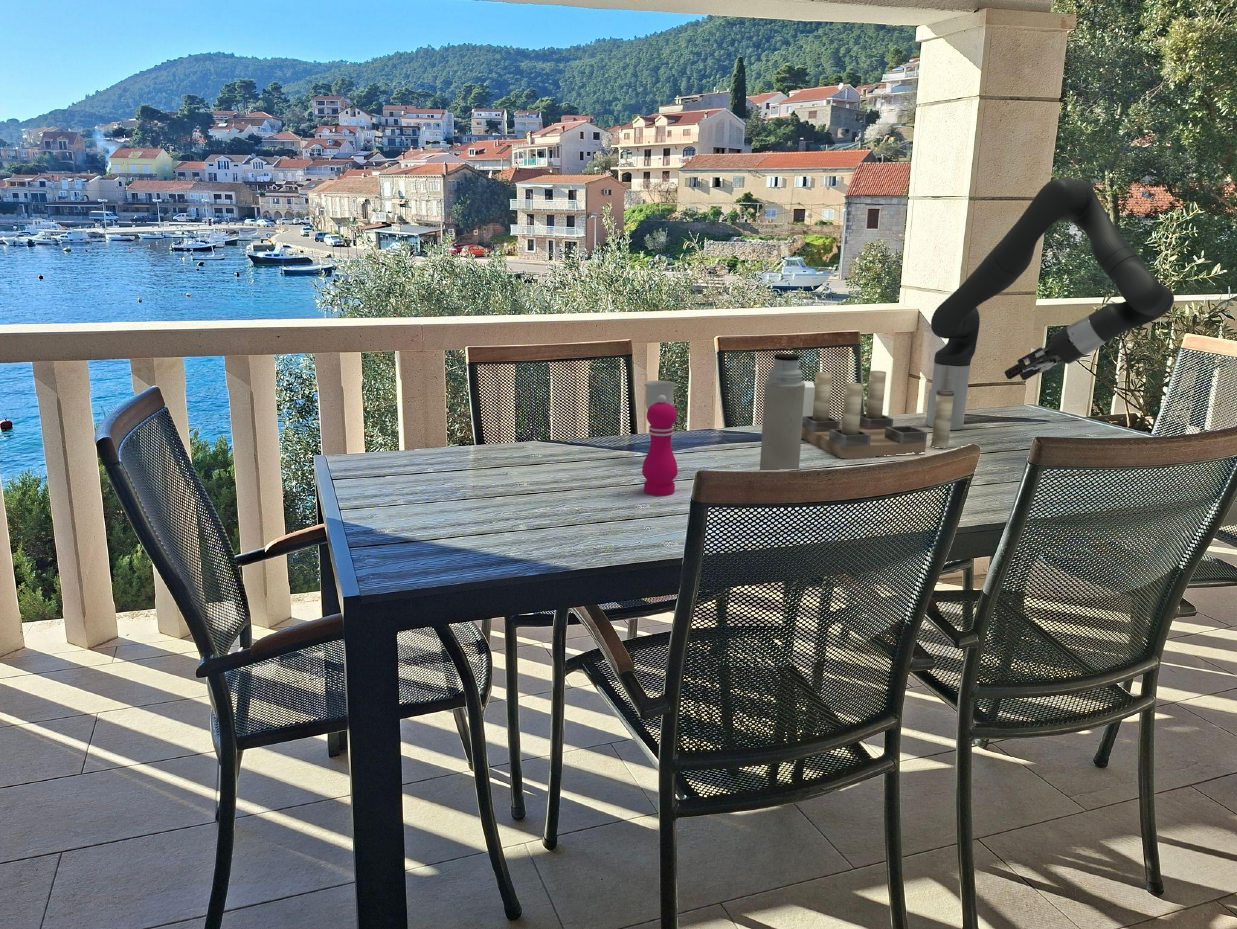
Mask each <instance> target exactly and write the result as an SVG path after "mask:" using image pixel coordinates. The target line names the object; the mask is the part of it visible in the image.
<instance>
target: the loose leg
mask: <svg viewBox="0 0 1237 929" xmlns="http://www.w3.org/2000/svg"><path fill="white" fill-rule="evenodd" d="M953 399H954V391H950V390H937V396H936V405H935V414H934V424H933V428H932V434H931V442H930V444H931V445H930V447H931V446H934V447H939V448H944V447H945V448H947V447H948V448H949V443H950V442H949V441H950V435H951V434H950V432H951V430H950V426H951V417H952V408H953ZM948 448H947V449H948Z"/></svg>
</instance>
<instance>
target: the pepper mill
mask: <svg viewBox="0 0 1237 929" xmlns="http://www.w3.org/2000/svg"><path fill="white" fill-rule="evenodd" d="M666 400H667V399H666V396H665V395H660V396H659V397H658V403H654V404H652V405H651V406H650V407H649V408H648V410H647V411H646V420H647V422H648V424H649V426H648V434H649V435H650V444H649V450H648V451H647V454H646V456H645V458H644V459H643V460H644V461H643V464H642V468H641V473H642V476H643V477H644V478H645V480H646V481H644V482H643V491H644V492H645V493H646V494H648V495H652V496H660V497H661V496H668V495H669V496H670V495H672V494H674V493H675V491H676V490H675V489H676V488H675V486H676V485H675V484H676V483H675V482H674V480H675V479H676V477H677V476H678V473H679V472H678V463H677V460H676V457H675V455H674V452H673V447H672V435H674V426H673V425H674V424H675V422H676V421H677V416H678V415H677V410H676V409H675V406H674V405H673V406H672V405H671V404H669V403H665V402H666Z"/></svg>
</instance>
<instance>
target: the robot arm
mask: <svg viewBox="0 0 1237 929" xmlns="http://www.w3.org/2000/svg"><path fill="white" fill-rule="evenodd" d="M1058 221H1071V222H1073V223H1074V224H1075V225H1077V226H1078V227H1079V228H1081V230H1082V231H1083V232H1084V233H1085V234H1086V236H1087V237H1088V239H1089V242H1090V246H1091V250H1092V254H1093V257H1094V259H1095V261H1096V263H1097V264H1098V266H1100V268H1101V269H1102V271H1103V272H1104V273H1105V275H1107V277H1108V278H1109V279H1110V281H1112V283H1114V284H1115V286H1116V288H1117V289H1118V291H1119V293H1120V294H1121V296H1122V298H1123V299H1124V301H1123V302H1120V303H1109V304H1107V305H1104V306H1102V307H1101V308H1099V309H1097V310H1096V311H1094V312H1092V313H1091V314H1089V315H1087V316H1085V317H1083V318H1080V319H1078V320H1076V321H1074V322H1073V323H1070V324H1069V325H1068V326H1065V327H1064V328H1062V329H1061V330H1059V331H1057V332H1056V333H1054V334H1052V335H1050V338H1049V340H1050V346H1049V347H1047V348H1046V347H1038V348H1037V349H1035V350H1033V351H1031V352H1029V353H1028V354H1026V355H1024V356H1023V357H1021V358H1018V360H1017V361H1016V362H1017V363H1016V364H1015V365H1013V366H1012V367H1009V368H1008V369H1006V370H1005V371H1004V375H1005V376H1006V378H1007V380H1012V379H1014V378H1015V377H1017V376H1019V377H1020V378H1021V380H1022V381H1026V380H1029V379H1030V378H1032V377H1034V376H1035V375H1038V374H1042V373H1043V372H1044V373H1048V372H1049V371H1050V370H1051V369H1054V368H1055V367H1057V366H1059V365H1060V364H1062V363H1065V364H1066V365H1070V364H1072V363H1074V362H1076V361H1078V360H1079V359H1082V358H1083V357H1084V356H1087V355H1089V354H1090V353H1091V352H1093V351H1095V350H1097V349H1098V348H1100V347H1101V346H1103V345H1104V344H1105V343H1107V342H1109V341H1111V340H1112V339H1114V338H1116V337H1118V336H1120V335H1122V334H1123V333H1125V332H1127V331H1129V330H1133V329H1136V328H1139V327H1141V326H1143V325H1146V324H1149V323H1151V322H1154V321H1156V320H1158V319H1159V318H1162V316H1163V317H1164V315H1166V314H1167V313H1168V312H1169V311H1170V310H1171V308H1172V307H1173V305H1174V302H1175V295H1174V293H1173V291H1172V290H1171V289H1170V288H1168V286H1166V285H1164V284H1162V283H1160V282H1159V281H1158V280H1157V279H1156V278H1155V277H1154V276H1153V275H1152V274H1151V273H1150V271H1149V270H1148V269H1147V268H1146V264H1145V262H1144V261H1143V259H1142V258H1141V256H1139V255H1138V254H1139V253H1137V252H1136V251H1135V250H1134V249H1133V248H1132V246H1131V245H1130V244H1129V243H1128V242H1127V240H1126V239H1125V238H1124V237H1123V235H1122V234H1121V233H1120V232H1119V230H1118V229H1117V227H1116V226H1115V224H1114V223H1113V220H1111V217H1110V216H1109V214H1108V213H1107V211H1106V210H1105V208H1104V206H1103V204H1102V203H1101V200H1100V199H1099V197H1098V196H1097V193H1096V191H1095V190H1094V188H1093V187H1092V186H1091V184H1090V183H1088V182H1087V181H1085V180H1083V179H1078V178H1066V177H1065V178H1061V177H1060V178H1055V179H1052V180H1050V181H1047V183H1045V185H1043V186H1042V187H1041V189H1040V190H1039V191H1038V192H1037V194H1036V195H1035V196H1034V198H1033V200H1032V201H1031V202H1030V203H1029V205H1028V207H1026V209H1025V211H1024V212H1023V214H1022V215H1021V216H1020V218H1019V219H1018V220H1017V221H1016V222H1015V224H1014V225H1013V226H1012V227H1011V229H1009V231H1008V232H1007V233H1006V234H1005V235H1004V236H1003V237H1002V239H1001V240H999V242H998V243H997V244H996V246H995V247H993V248H992V250H991V251H990V252H989V253H988V254H987V255H986V256H985V257H984V259H983V260H982V261H981V262H980V264H979V265H978V266H977V267H976V268H975V269H974V270H973V272H972V273H970V275H969V276H968V278H966V280H965V281H964V282H963V283H962V284H961V285H960V286H959V287H958V288H957V289H956V290H955V291H954V292H952V294H950V295H949V296H948V297H947V298H946V299H945V300H944V301H943V302H942V303H941V304H939V305H938V307H937V308H936V309H935V310H934V312H933V315H932V317H931V320H930V327H931V331H932V333H933V334H934V336H936V337H938V338H939V339H940V338H941V339H948V340H947V343H946V344H945V346H943V347H942V348H941V349H938V350H937V351H936V352H935V354H934V360H933V369H932V370H933V371H932V378H931V387H930V389H929V391H928V399H927V409H926V410H927V411H926V419H925V423H926V424H927V426H928V427H930V428H932V429H933V424H934V414H935V405H936V396H937V390H950V391H954V399H953V408H952V417H951V426H950V431H956V430H957V431H958V430H962V429H963V428H964V423H965V416H966V415H965V414H966V407H967V406H966V405H967V399H968V398H967V396H968V387H969V379H970V370H971V362H972V359H973V357H974V356H975V352H976V348H977V342H978V336H979V333H980V332H979V331H980V321H981V320H980V319H981V318H980V312H979V310H978V308H977V307H979V306H980V305H981V304H984V303H985V302H986V301H988V300H990V299H992V298H994V297H996V296H997V295H999V294H1000V293H1002V292H1003V291H1005V290H1007V289H1008V288H1009V287H1011V285H1013V284H1014V283H1015V282H1016V281H1017V280H1018V279H1019V277H1020V276H1021V275H1022V274H1023V273H1024V272H1026V270H1027V268H1028V267H1029V266H1030V264H1031V262H1032V260H1033V256H1034V252H1035V248H1036V245H1037V243H1038V241H1039V240H1040V238H1041V237H1042V236H1043V235H1044V234H1045V233H1046V232H1047V231H1048V230H1049V228H1050V227H1051V226H1053V225H1054V224H1055V223H1057V222H1058ZM1027 362H1028V364H1026V363H1027Z"/></svg>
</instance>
